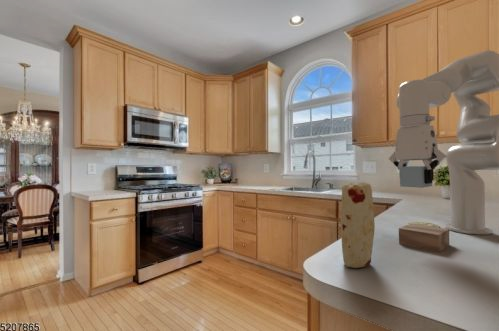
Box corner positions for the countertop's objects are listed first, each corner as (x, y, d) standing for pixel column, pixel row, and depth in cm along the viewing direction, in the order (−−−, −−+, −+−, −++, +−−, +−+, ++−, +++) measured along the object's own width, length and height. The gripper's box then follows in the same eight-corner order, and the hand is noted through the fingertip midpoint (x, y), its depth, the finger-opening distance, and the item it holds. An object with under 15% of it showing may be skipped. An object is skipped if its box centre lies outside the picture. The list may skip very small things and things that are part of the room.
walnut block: (411, 238, 82) (411, 223, 82) (449, 245, 74) (449, 229, 74) (399, 244, 76) (398, 228, 76) (438, 253, 68) (438, 235, 68)
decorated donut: (451, 237, 82) (451, 226, 82) (424, 239, 80) (423, 228, 80) (423, 230, 92) (423, 219, 92) (399, 231, 90) (398, 221, 90)
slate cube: (410, 185, 78) (410, 166, 78) (432, 186, 73) (431, 166, 73) (400, 186, 75) (399, 166, 75) (421, 187, 70) (421, 166, 70)
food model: (360, 275, 54) (359, 183, 54) (333, 265, 59) (332, 181, 59) (381, 264, 60) (380, 181, 60) (354, 256, 65) (353, 180, 65)
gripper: (454, 118, 69) (456, 183, 69) (392, 127, 84) (394, 180, 84) (441, 116, 65) (443, 185, 65) (379, 126, 80) (381, 182, 80)
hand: (416, 182), depth 74 cm, fingers closed on slate cube, 6 cm apart
